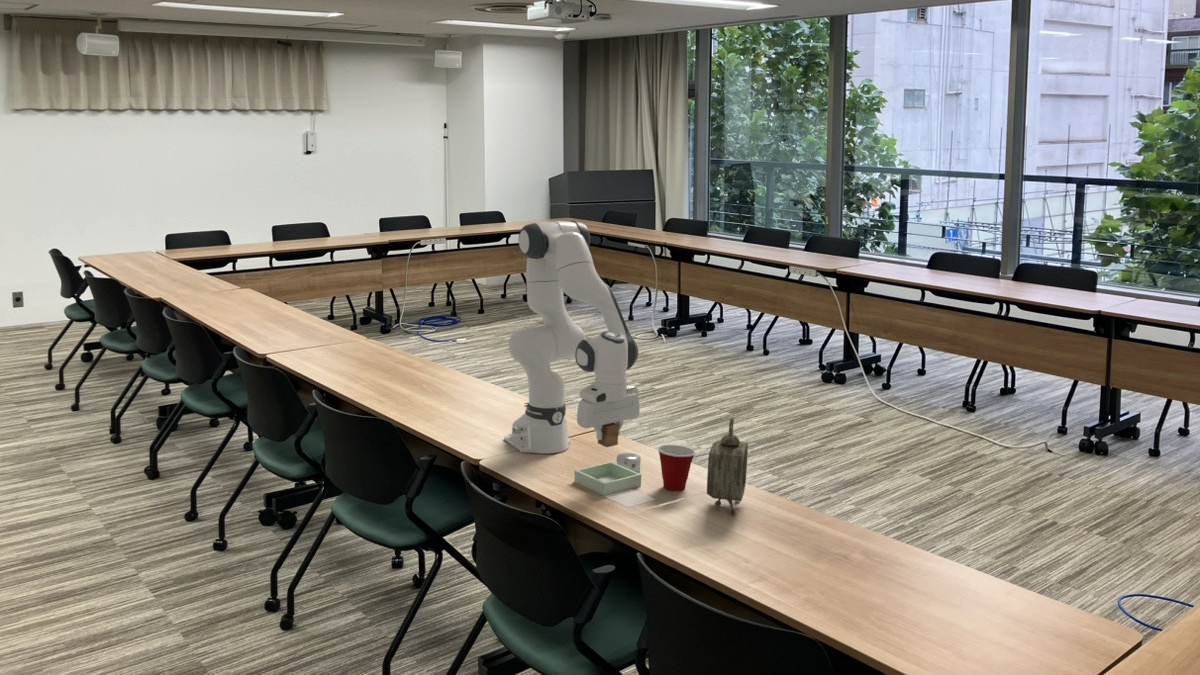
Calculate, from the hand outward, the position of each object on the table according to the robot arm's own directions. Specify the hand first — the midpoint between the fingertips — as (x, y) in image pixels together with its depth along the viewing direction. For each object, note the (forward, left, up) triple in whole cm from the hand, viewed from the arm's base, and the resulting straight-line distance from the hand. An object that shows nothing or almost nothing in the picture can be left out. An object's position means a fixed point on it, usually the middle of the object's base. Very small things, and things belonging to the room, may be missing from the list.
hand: (607, 437), depth 288 cm
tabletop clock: (+31, +16, -14) cm, 38 cm away
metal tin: (-4, +12, -14) cm, 19 cm away
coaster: (+13, -2, -14) cm, 19 cm away
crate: (+1, 0, -14) cm, 14 cm away
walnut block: (0, 0, -2) cm, 2 cm away
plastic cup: (+14, +14, -14) cm, 24 cm away
